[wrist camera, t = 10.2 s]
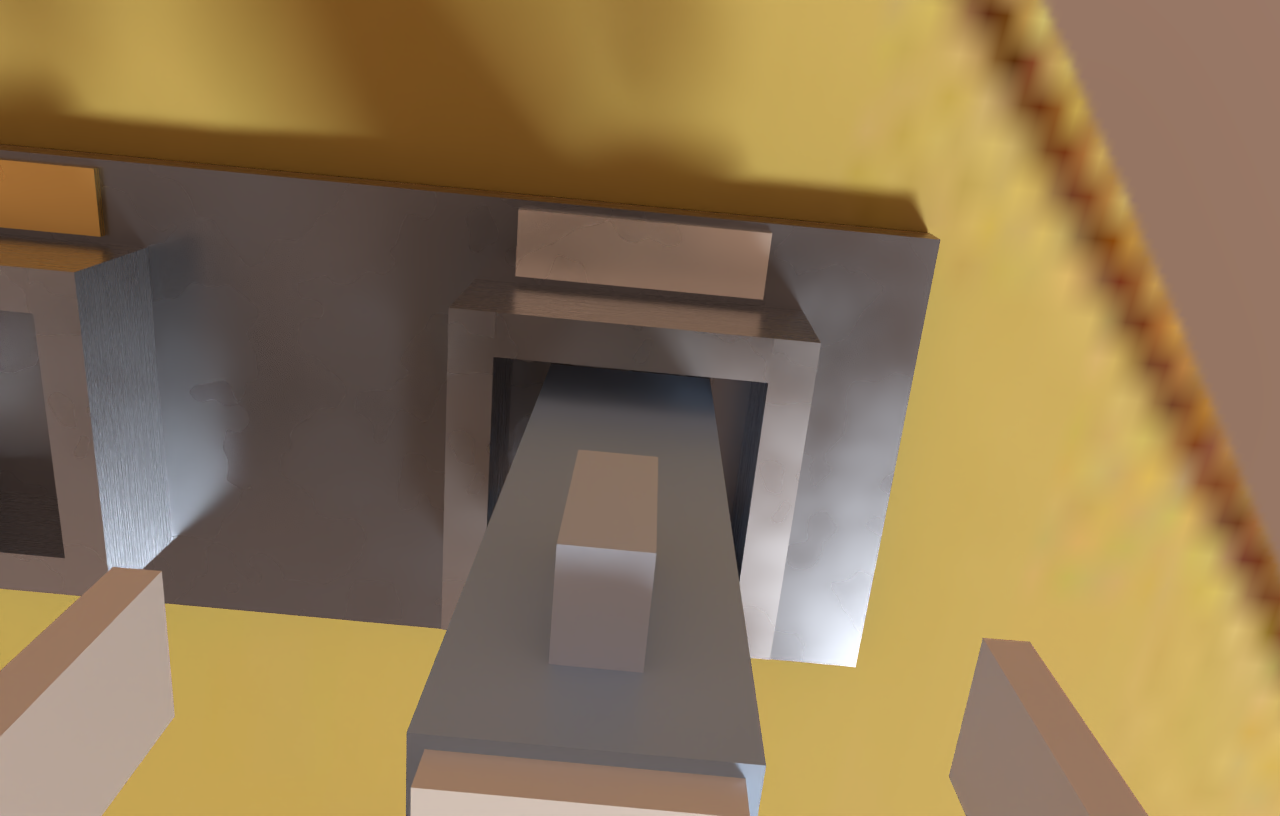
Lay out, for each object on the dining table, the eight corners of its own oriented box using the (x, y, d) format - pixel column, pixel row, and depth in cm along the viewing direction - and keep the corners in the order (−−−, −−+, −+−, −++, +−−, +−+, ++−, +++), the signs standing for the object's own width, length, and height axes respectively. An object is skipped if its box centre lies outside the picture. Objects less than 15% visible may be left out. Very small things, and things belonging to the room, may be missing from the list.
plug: (542, 507, 25) (391, 1042, 11) (554, 297, 23) (392, 631, 9) (692, 521, 25) (725, 1071, 11) (717, 312, 23) (795, 668, 9)
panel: (-187, 550, 27) (-325, 627, 23) (-288, 117, 23) (-473, 125, 19) (848, 646, 27) (878, 738, 24) (929, 232, 23) (979, 264, 20)
